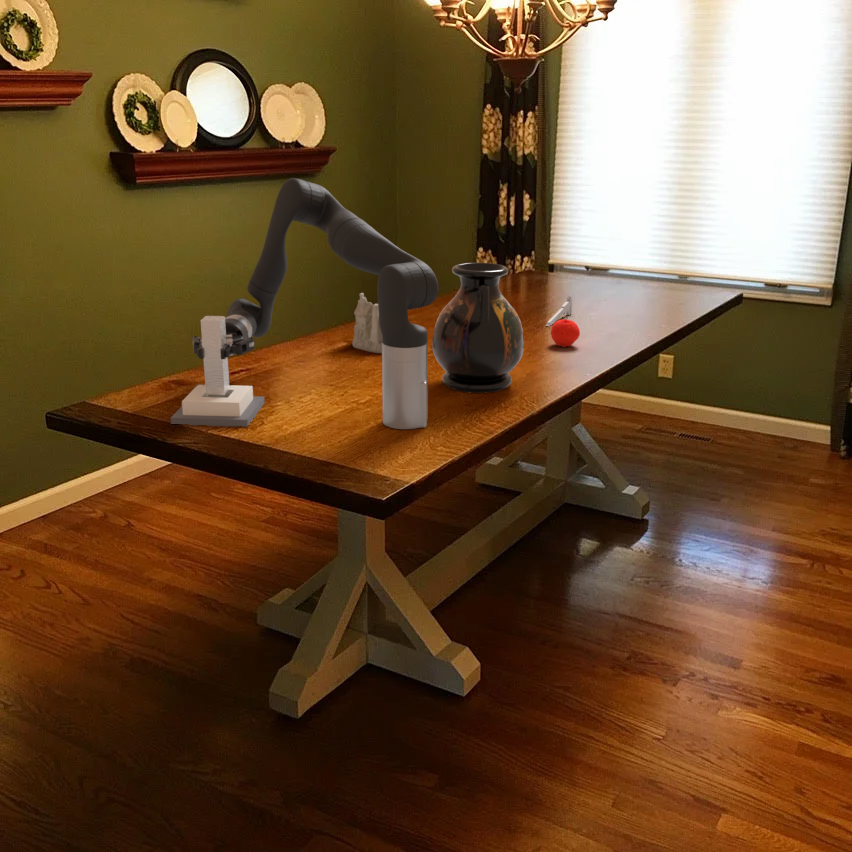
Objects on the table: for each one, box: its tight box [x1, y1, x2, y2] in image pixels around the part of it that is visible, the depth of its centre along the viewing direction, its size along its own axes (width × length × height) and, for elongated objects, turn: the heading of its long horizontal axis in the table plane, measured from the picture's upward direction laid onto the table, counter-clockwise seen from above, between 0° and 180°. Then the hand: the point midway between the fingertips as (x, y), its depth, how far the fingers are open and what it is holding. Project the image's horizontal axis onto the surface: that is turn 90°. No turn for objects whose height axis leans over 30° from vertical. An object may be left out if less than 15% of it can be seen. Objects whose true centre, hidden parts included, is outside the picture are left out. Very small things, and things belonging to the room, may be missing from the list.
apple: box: [550, 319, 581, 348], centre depth 256 cm, size 8×8×7 cm
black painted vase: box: [431, 262, 525, 394], centre depth 217 cm, size 22×22×28 cm
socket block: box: [170, 384, 265, 428], centre depth 199 cm, size 16×16×4 cm
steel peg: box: [200, 315, 230, 395], centre depth 196 cm, size 4×4×16 cm
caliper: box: [545, 295, 573, 327], centre depth 286 cm, size 20×1×6 cm, turn 152°
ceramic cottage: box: [352, 292, 382, 354], centre depth 255 cm, size 16×16×15 cm
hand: (211, 354), depth 193 cm, fingers closed on steel peg, 4 cm apart
